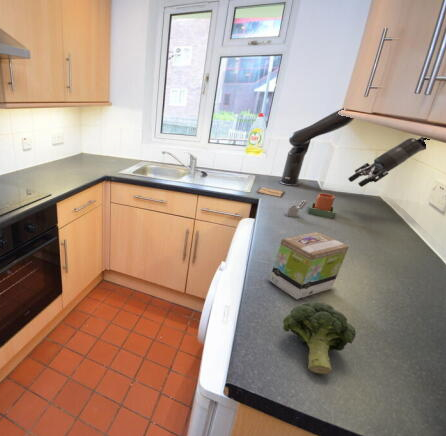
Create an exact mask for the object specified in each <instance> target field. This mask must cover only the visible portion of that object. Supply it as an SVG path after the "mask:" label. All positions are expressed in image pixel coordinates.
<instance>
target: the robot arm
mask: <svg viewBox="0 0 446 436" xmlns="http://www.w3.org/2000/svg"><path fill="white" fill-rule="evenodd" d="M341 110H344V107H342V108H340V109H338V110H336V111H334V112H332V113H330V114H328V115H326V116H325V117H323V118H321V119H320V120H317V121H316V122H314V123H312V124H311V125H309V126H306V127H304V128H301V129H299V130H296V131H294V132H293V133H291V135H290V136H289V139H288V143H289V144H290V145H291V146H292V147H291V149H290V150H289V151H288V152H287V155H286V159H285V163H284V167H283V172H282V176H281V179H280V184H282V185H285V186H291V187H293V186H297V185H298V182H299V178H300V174H301V171H302V168H303V163H304V159H305V156H306V155H307V153H308V150H309V147H310V144H311V140H313V139H314V138H317V137H319V136H322V135H325V134H329V133H331V132H335V131H337V130H340V129H342V128H343V127H345V126H348V125H349V124H351V123H352V122H353V121H354V120H355V119H354V118H350V117H346V116H341V115H339V114H338V112H339V111H341ZM426 139H427V138H423V137H421V136H420V137H419V138H417V139H416V138H415V137H409V138H407V139H405V140H403V141H402V142H400V143H399V144H397V145H396V146H394V147H392V148H390V149H388V150H387V151H385V152H383V153H382V154H381V155H379V156H377V157H376V158H375V159H373V163H372V164H370V163H369V162H366V163H364V164H362V165H361V166H359V167H358V168H356V169H355V170H354V172H355V173H354V174H353V175H350V176H349V177H347V180H348V181H349V182H351V183H353V181H356V180H357V179H358V178H359V177H363V176H364V177H365V176H367V177H365V178H364V179H362V180H360V181H359V182H358V183H357V184H358V186H359V187H361V188H363V187H364V186H366V185H368V184H369V183H373V182H374V183H377V182H379V181H380V180H382V179H383V178H385V177H386V176H387V175H389V172H390V171H392V170H393V169H396V168H397V167H398V166H399V165H402V164H403V163H405V162H406V161H407V160H408V159H410V158H412V157H413V156H414V155H416V154H418V153H420V152H422V151H424V150H427V149H426V144H425V142H424V140H426ZM427 140H430V139H427Z"/></svg>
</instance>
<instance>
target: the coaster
mask: <svg viewBox="0 0 446 436" xmlns="http://www.w3.org/2000/svg"><path fill="white" fill-rule="evenodd" d="M283 193H284V190H280V189H275V188H269V187H264V186H263V187H260V188H259V190H258V191H257V194H262V195H267V196H273V197H278V198H281V197H282V196H283Z"/></svg>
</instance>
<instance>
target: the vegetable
mask: <svg viewBox="0 0 446 436" xmlns="http://www.w3.org/2000/svg"><path fill="white" fill-rule="evenodd" d="M282 323H283V326H282V329H283V331H285V332H291V333H292V334H294V335H295V336H297V337H298V338H299V339H300V340H301V341H302V342H303V343H306V345H307V347H308V348H309V351H308V352H309V353H308V356H307V357H308V358H307V359H308V367H307V369H308V370H309V371H310V372H312V373H314V374H319V375H328V374H330V373H332V372H333V368H332V365H331V361H330V360H331V358H330V357H329V350H330V351H337V352H341V351H343V350H345V348H346V347H345V346H347V344H350V345H351V344H352V343H353V342H354V340H355V338H356V335H357V333H356V328H355V327H354V326H353V325H352V324H351V323H349V322H348V318H347V317H346V316H345V314H343V313H342V312H341V311H339V310H337V309H335V308H334V306H332V305H331V304H328V303H325V302H320V301H314V302H309V301H306V302H302V303H301V305H297V306H294V307H292V309H291V310H290V313H289V314H288V313H287V315H286V316H285V317H284V319H283V321H282Z"/></svg>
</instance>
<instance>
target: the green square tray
mask: <svg viewBox="0 0 446 436" xmlns="http://www.w3.org/2000/svg"><path fill="white" fill-rule="evenodd" d="M315 203H316V202H311V203H310V206H309V209H308V214H309V215H313V216H317V217H318V216H319V217H323V218H329V219H334V216H335V212H336V208H335V206H333V205H332V207H331V210H330V211H326V210H321V209H316V208H314V207H315Z"/></svg>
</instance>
